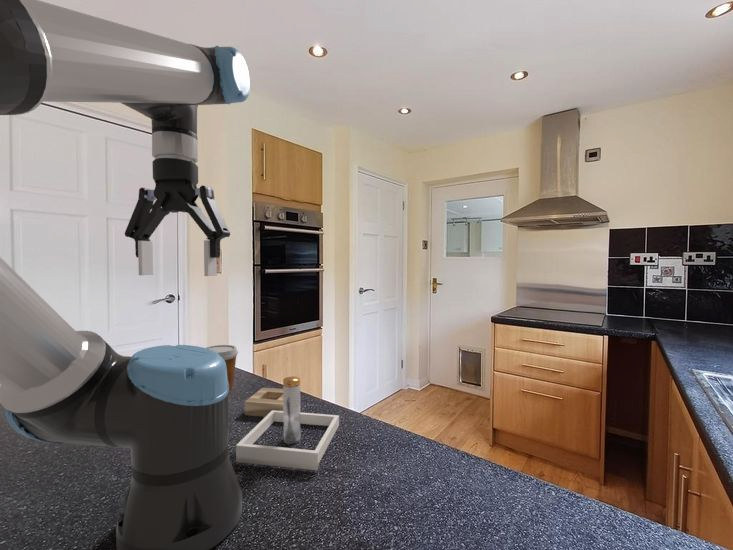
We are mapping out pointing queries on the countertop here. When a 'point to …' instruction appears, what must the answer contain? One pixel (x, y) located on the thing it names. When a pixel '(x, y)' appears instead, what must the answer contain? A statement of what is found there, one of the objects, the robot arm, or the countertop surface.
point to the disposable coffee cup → (227, 359)
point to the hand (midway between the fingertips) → (177, 275)
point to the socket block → (264, 402)
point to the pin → (291, 409)
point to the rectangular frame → (286, 455)
